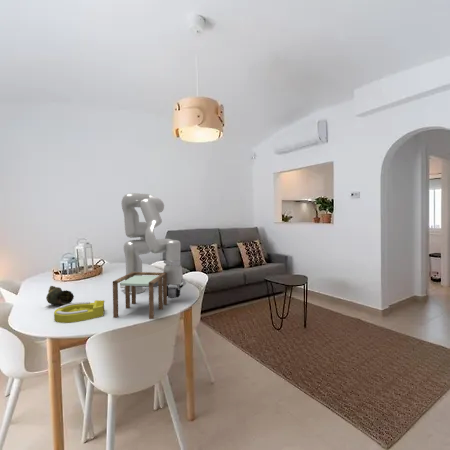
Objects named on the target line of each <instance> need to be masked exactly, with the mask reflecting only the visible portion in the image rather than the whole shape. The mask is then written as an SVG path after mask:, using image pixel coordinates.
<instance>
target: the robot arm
mask: <svg viewBox="0 0 450 450" xmlns="http://www.w3.org/2000/svg"><path fill="white" fill-rule="evenodd" d="M121 208H122V212H123V217H124V218H123V220H124V221H123V222H124V231H125V232H124V233H125V236H126V237H127V238H130V239H132V238H133V239H132V240H128V241H126V242H125V243H124V245H123V253H124V257H125V258H124V259H125V275H127V274H129V273H131V272H143V262H142V259H141V258H140V256H142V255H147V254H149V253H152V254H162V253H165V256H166V258H165V260H163V264H165V265H164V267H163V271H162V273H167V297H168V287H170V286H176V287H177V298H179V296H180V295H181V289H182V288H183V287H184V286H186V285H187V282H186V280H185V279H184V276H183V275H184V274H183V268H182V264H181V245H182V244H181V241H180V240H178V239H177V240H176V239H171V238H159V239H158V238H157V237H156V236H155V232H154V231H155V228H157V227H158V226H160V225H161V224H162V222H163V220H162V218H161V215H160V213H162V212H164V210H165V204H164V202H163V200H162V199H161V198H159V197H156V196H154V195H152V194H148V193H138V192H137V193H136V192H132V193H131V192H129V193H126V194H124V196H122V199H121ZM136 208H140V210H141V211H142V212H141V213H142V215H143V217H144V220H145V221H140V215H139V213H138V211H137V209H136ZM134 238H140V239H134ZM135 276H143V275H135ZM130 278H131V277H130ZM119 287H120V289H123V293H124V294H125V285H120V284H119ZM162 287H163V278H162ZM145 291H146V287H136V295H137V294H142V293H143V292H145ZM130 295H132V292H131V286H130Z"/></svg>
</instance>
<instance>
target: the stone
mask: <svg viewBox="0 0 450 450" xmlns="http://www.w3.org/2000/svg"><path fill="white" fill-rule="evenodd" d="M168 298H169V299H177V298H178V297H177V286H176V285H170V286H168V296H167V299H168Z"/></svg>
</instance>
